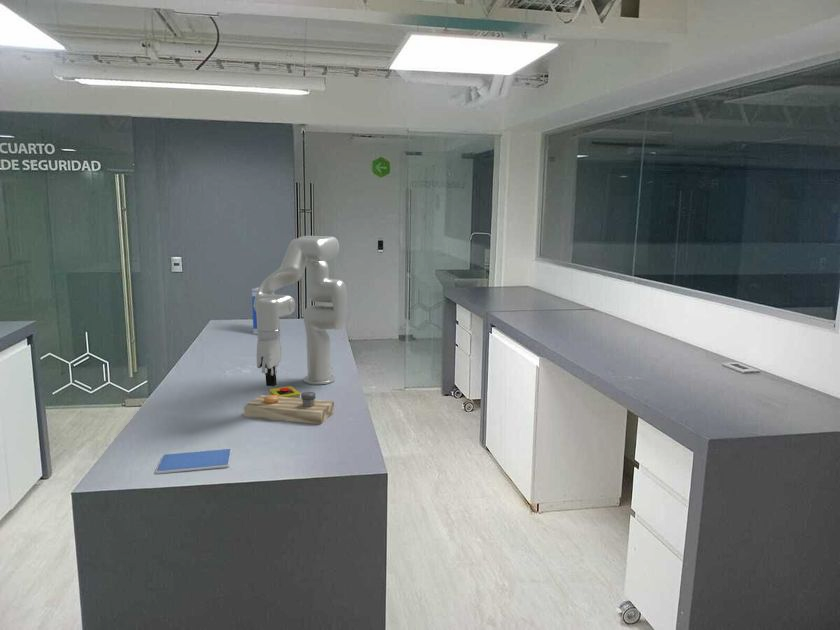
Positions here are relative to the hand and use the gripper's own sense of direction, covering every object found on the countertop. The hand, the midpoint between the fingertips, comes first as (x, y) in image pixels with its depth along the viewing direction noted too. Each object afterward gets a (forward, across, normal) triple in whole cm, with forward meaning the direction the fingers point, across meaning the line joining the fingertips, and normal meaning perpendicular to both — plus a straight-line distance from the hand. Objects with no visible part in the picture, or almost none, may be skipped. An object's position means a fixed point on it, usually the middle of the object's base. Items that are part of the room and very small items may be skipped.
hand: (271, 385), depth 212 cm
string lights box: (+13, -122, -66) cm, 139 cm away
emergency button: (+11, -16, -3) cm, 19 cm away
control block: (+10, +1, +7) cm, 12 cm away
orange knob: (+10, +1, 0) cm, 10 cm away
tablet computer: (+10, +44, -2) cm, 45 cm away
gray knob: (+7, +1, +14) cm, 16 cm away
